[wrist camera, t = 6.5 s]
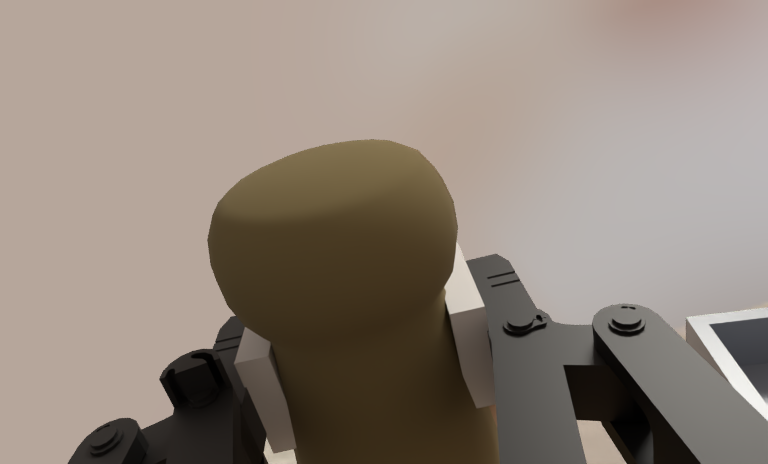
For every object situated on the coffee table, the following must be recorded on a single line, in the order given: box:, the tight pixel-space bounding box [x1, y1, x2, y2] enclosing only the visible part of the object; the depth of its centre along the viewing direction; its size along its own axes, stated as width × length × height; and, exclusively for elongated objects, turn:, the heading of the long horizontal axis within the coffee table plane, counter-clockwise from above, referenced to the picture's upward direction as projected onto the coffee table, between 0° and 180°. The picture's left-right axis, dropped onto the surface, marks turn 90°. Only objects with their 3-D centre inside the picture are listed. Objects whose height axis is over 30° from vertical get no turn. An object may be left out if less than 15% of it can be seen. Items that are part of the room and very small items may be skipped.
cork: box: [208, 139, 500, 464], centre depth 13 cm, size 6×6×11 cm
